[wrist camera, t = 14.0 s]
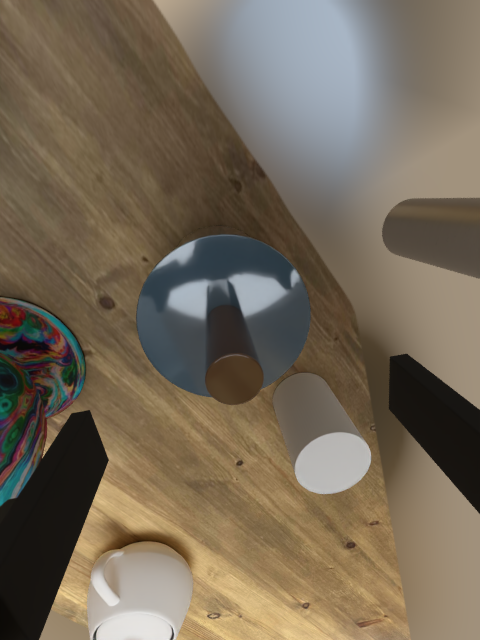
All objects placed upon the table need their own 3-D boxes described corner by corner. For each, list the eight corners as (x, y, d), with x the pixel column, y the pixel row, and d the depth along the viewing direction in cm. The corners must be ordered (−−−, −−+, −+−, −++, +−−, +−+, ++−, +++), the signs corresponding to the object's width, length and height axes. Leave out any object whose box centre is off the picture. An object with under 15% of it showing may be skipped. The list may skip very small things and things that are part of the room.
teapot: (64, 535, 49) (21, 636, 38) (157, 500, 49) (142, 591, 37) (141, 622, 58) (125, 725, 47) (220, 593, 58) (224, 690, 46)
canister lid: (299, 218, 23) (355, 230, 14) (311, 375, 27) (359, 454, 19) (118, 248, 22) (63, 278, 14) (161, 402, 27) (140, 497, 18)
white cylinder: (280, 429, 46) (304, 502, 35) (265, 383, 43) (286, 447, 32) (334, 412, 46) (376, 480, 35) (323, 364, 43) (364, 422, 32)
